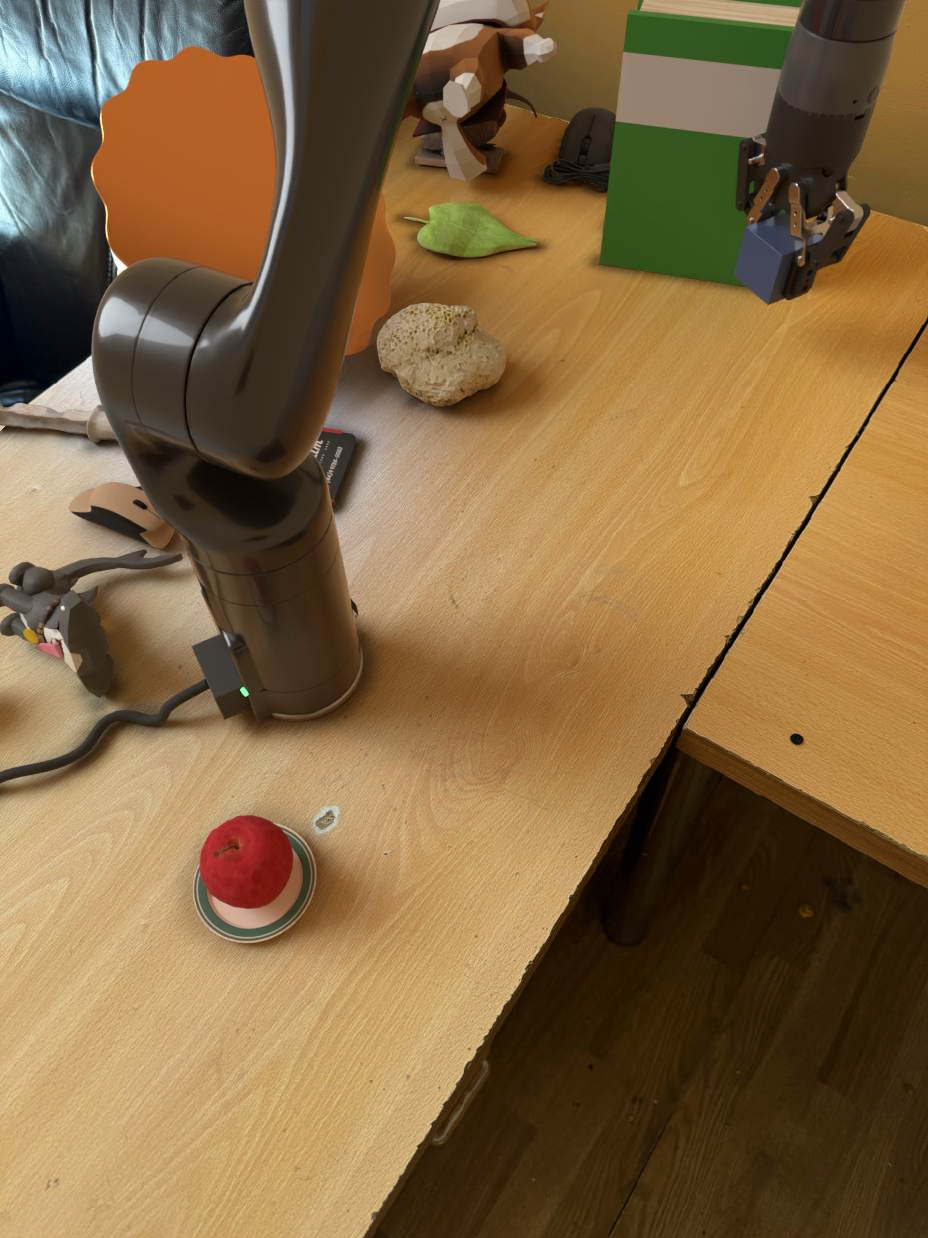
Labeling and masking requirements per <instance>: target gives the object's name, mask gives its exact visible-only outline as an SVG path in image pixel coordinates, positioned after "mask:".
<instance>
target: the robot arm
mask: <svg viewBox="0 0 928 1238" xmlns="http://www.w3.org/2000/svg"><path fill="white" fill-rule="evenodd" d="M440 1H441V0H243V8H244V13H245V17H246V22H247V23H246V24H247V28H248V32H249V33H248V34H249V38H250V42H251V47H252V50H253V54H254V55H253V56H254V58H255V60H256V64H257V68H258V72H259V76H260V80H261V84H262V88H263V92H264V96H265V100H266V104H267V109H268V114H269V119H270V124H271V128H272V133H273V141H274V150H275V168H276V173H275V188H274V197H273V204H272V211H271V217H270V222H269V228H268V233H267V237H266V242H265V246H264V250H263V254H262V258H261V261H260V265H259V268H258V271H257V274H256V277H255V280H250V279H247V278H244V277H241V276H238V275H234V274H231V273H228V272H225V271H221V270H218V269H215V268H213V267H209V266H206V265H203V264H199V263H196V262H193V261H189V260H185V259H182V258H177V257H170V256H157V257H151V258H146V259H143V260H140V261H137V262H135V263H134V264H132V265H130V266H129V267H127V268H126V269H125V270H123V271H122V272H121V273H120V274H119V275H118V276H117V275H116V277H115V278H114V279H113V280H112V282H111V283H110V284H109V285H108V287H107V288H106V290H105V292H104V293H103V296H102V297H101V300H100V302H99V305H98V307H97V310H96V314H95V318H94V322H93V327H92V332H91V345H90V347H91V349H90V350H91V351H90V352H91V367H92V374H93V379H94V384H95V388H96V392H97V396H98V398H99V401H100V405H102V407H103V410H104V412H105V415H106V417H107V419H108V422H109V424H110V426H111V428H112V430H113V432H114V434H115V436H116V439H117V441H116V442H118V445H119V446H120V448H121V450H122V452H123V454H124V456H125V458H126V460H127V462H128V464H129V466H130V468H131V470H132V472H133V474H134V476H135V477H136V480H137V482H138V484H139V486H141V487H142V489H143V491H144V493H145V495H146V497H147V499H148V501H149V502H150V504H151V506H152V507H153V509H154V510H155V511H156V512H157V514H158V515H159V516H160V517H161V518H162V519H163V520H164V521H165V522H166V523H167V524H168V525H169V526H170V527H171V528H173V529H174V530H175V531H174V532H176V533H177V534H178V535H179V538H180V541H181V543H182V545H183V547H184V550H185V552H186V554H187V557H188V559H189V561H190V564H191V566H192V568H193V569H192V570H193V572H194V574H195V576H196V578H197V582H198V583H199V586H200V588H201V589H200V593H201V596H202V598H203V601H204V603H205V605H206V608H207V611H208V613H209V615H210V617H211V619H212V622H213V625H214V627H215V629H216V633H217V634H216V635H215V636H212V637H210V638H207V639H205V640H202V641H199V642H198V643H196V644H195V643H194V644H193V645H191V650H192V652H193V654H194V655H195V658H196V661H197V662H198V665H199V667H200V670H201V672H202V674H203V676H204V678H203V679H201V680H200V681H198V682H196V683H194V684H192V685H190V686H188V687H186V688H185V689H183V690H182V691H180V692H178V693H176V694H175V695H173V696H172V697H170V698H169V699H168V700H167V701H165V702H164V703H163V704H162V705H161V707H160V708H159V711H158V713H156V714H148V713H143V712H140V711H136V710H135V711H134V710H130V709H120V710H115V711H112V712H110V713H107V714H106V715H105V716H103V717H102V718H101V719H99V720H98V721H97V722H96V724H95V725H94V726H93V727H92V729H91V731H90V732H89V734H88V735H87V736H86V738H85V739H84V741H83V742H82V743H81V744H79V746H77V747H76V748H75V749H72V750H71V751H69V752H67V753H65V754H62V755H60V756H57V757H55V758H52V759H48V760H44V761H43V760H42V761H39V762H35V763H28V764H24V765H19V766H15V767H11V768H7V769H4V770H2V771H1V770H0V785H1V784H3V783H5V782H9V781H11V780H15V779H19V778H24V777H28V776H35V775H38V774H43V773H47V772H48V773H49V772H51V771H55V770H58V769H61V768H64V767H66V766H69V765H71V764H73V763H75V762H77V761H78V760H81V759H82V758H83V757H85V756H86V755H88V754H89V752H90V751H92V749H93V748H94V747H95V746H96V744H97V743H98V742H99V740H100V738H101V737H102V736H103V734H104V733H105V731H106V730H107V729H108V728H109V727H111V725H113V724H115V723H117V722H123V721H126V722H131V723H136V724H139V725H142V726H144V725H145V726H158V725H161V724H164V723H165V722H166V721H167V720H168V719H169V718H170V716H171V713H172V712H173V711H174V710H175V709H177V708H178V707H180V706H181V705H183V704H184V703H186V702H188V701H190V700H191V699H193V698H196V697H197V696H199V695H201V694H203V693H204V692H206V691H208V690H210V692H211V694H212V696H213V699H214V701H215V703H216V705H217V707H218V710H219V712H220V713H221V716H222V718H223V720H224V721H226V720H228V719H231V718H232V717H235V716H237V715H239V714H241V713H244V712H246V711H249V710H251V711H252V713H253V715H254V717H255V720H256V721H257V722H258V723H259V724H263V723H266V722H267V721H269V720H273V719H275V720H280V721H285V722H286V721H288V722H303V721H307V720H313V719H317V718H318V717H319V718H320V717H322V716H324V715H327V714H329V713H331V712H332V711H334V710H336V709H338V707H340V706H342V705H343V704H344V703H345V702H347V700H349V698H350V697H351V696H352V694H353V693H354V692H355V690H356V688H357V687H358V685H359V683H360V682H361V678H362V674H363V671H364V653H363V648H362V645H361V642H360V637H359V635H358V629H357V625H356V620H355V615H354V613H355V614H356V615H357V617H358V618H359V617H360V616H359V610H358V606H357V604H356V603H355V601H354V600H353V599H352V598H351V594H350V589H349V585H348V579H347V575H346V569H345V564H344V560H343V559H344V558H343V554H342V549H341V545H340V539H339V534H338V528H337V523H336V519H335V513H334V508H332V503H331V498H330V493H329V488H328V484H327V480H326V476H325V473H324V471H323V469H322V467H321V465H320V463H319V462H318V460H317V459H316V457H315V456H314V455H313V454H312V452H311V450H312V448H313V447H314V445H315V443H316V442H317V440H318V438H319V436H320V434H321V431H322V429H323V428H325V425H326V422H327V420H328V417H329V414H330V411H331V408H332V405H333V403H334V400H335V397H336V393H337V389H338V386H339V382H340V379H341V375H342V370H343V365H344V362H345V359H346V358H345V357H346V356H345V353H346V349H347V345H348V340H349V336H350V331H351V327H352V322H353V317H354V313H355V308H356V303H357V299H358V294H359V290H360V285H361V280H362V276H363V271H364V266H365V262H366V257H367V253H368V248H369V243H370V239H371V234H372V230H373V225H374V220H375V216H376V211H377V207H378V203H379V199H380V196H381V192H382V193H383V188H384V184H385V180H386V177H387V173H388V171H389V170H388V169H389V166H390V163H391V159H392V156H393V151H394V149H395V145H396V141H397V138H398V135H399V132H400V129H401V125H402V122H403V119H404V118H403V115H404V112H405V108H406V105H407V102H408V99H409V95H410V92H411V89H412V85H413V82H414V79H415V76H416V73H417V70H418V66H419V63H420V60H421V57H422V54H423V51H424V48H425V45H426V42H427V40H428V37H429V34H430V31H431V28H432V25H433V22H434V19H435V17H436V14H437V11H438V8H439V4H440ZM907 1H908V0H802V2H801V6H800V10H799V14H798V17H797V21H796V24H795V26H794V29H793V32H792V34H791V37H790V40H789V42H788V45H787V49H786V52H785V56H784V60H783V64H782V68H781V73H780V77H779V81H778V84H777V88H776V93H775V97H774V101H773V105H772V109H771V113H770V117H769V121H768V125H767V129H766V132H765V133H762V134H759V135H756V136H753V137H750V138H747V139H744V140H741V142H740V144H739V156H738V171H737V186H736V201H735V205H736V208H737V210H738V211H744V212H745V214H746V215H747V218H746V222H747V225H748V226H749V225H752V224H755V223H757V222H760V221H763V220H766V219H768V218H771V217H774V216H777V215H779V213H780V212H781V210H782V209H783V210H785V211H786V213H787V214H788V215H789V217H790V235H791V237H793V238H794V240H795V242H794V261H792V262H791V266H790V269H789V272H788V276H787V279H786V282H785V286H784V289H783V292H782V297H784V298H785V299H784V300H786V301H792V300H795V299H797V298H800V297H802V296H803V295H805V294H807V293H809V291H810V290H811V289H810V287H811V284H812V281H813V278H814V275H815V272H816V271H817V272H818V271H821V270H823V269H824V268H827V267H829V266H830V267H831V266H832V265H836V264H839V263H841V262H842V260H843V259H844V257H845V256H846V254H847V252H849V249H850V248H851V247H852V245H853V243H854V242H855V240H856V239H857V236H858V235H859V234H860V233H861V230H862V228H863V227H864V225H865V224H866V222H867V220H868V219H869V217H870V216H871V211H872V210H871V206H870V204H869V203H868V202H862V203H859V204H857V203H856V202H855V200H854V199H853V198H852V197H851V196H850V195H849V193H848V188H849V180H848V179H849V178H848V177H849V176H848V175H849V170H850V168H851V166H852V164H853V163H854V162H855V159H856V158H857V157H858V155H859V154H860V151H861V150H862V147H863V144H864V141H865V139H866V136H867V133H868V129H869V127H870V123H871V120H872V117H873V115H874V111H875V108H876V106H877V102H878V100H879V96H880V93H881V91H882V87H883V85H884V81H885V79H886V75H887V72H888V69H889V66H890V63H891V59H892V56H893V55H892V54H893V50H894V43H895V40H896V34H897V31H898V27H899V25H900V22H901V19H902V16H903V14H904V11H905V7H906V4H907ZM402 118H403V119H402ZM753 181H754V188H753V192H752V193H749V189H750V184H751V182H753ZM813 218H815V219H813ZM810 219H813V220H812V221H808V220H810ZM806 221H808V222H807V223H806V224H805V222H806ZM811 236H813V237H812V247H809V239H810V237H811Z"/></svg>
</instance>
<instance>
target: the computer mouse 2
mask: <svg viewBox="0 0 928 1238" xmlns="http://www.w3.org/2000/svg"><path fill="white" fill-rule="evenodd" d="M615 121H616V113H614V112H613V111H611V110H609V109H606V108H603V107H593V106H592V107H586V108H582V109H580V110H579V111H577V112H576V113H575V114H574V115H573V117H572V118H571V119H570V121H569V122H568V125H567V126H566V128H565V130H564V132H563V134H562V137H561V141H560V143H559V149H558V155H557V159H554V160H553V161H551V163H549V164H548V165H547V166H545V168H544V171H543V172H542V175H541V178H542V180H543V181H544V182H545V183H547V184H552V185H556V184H565V183H573V182H579V184H581V185H582V184H586V185H587V186H588V187H590V189H593V190H594V191H596V192H600V193H606V192H608V183H609V174H610V165H611V156H612V147H613V139H614V130H615ZM553 174H555V175H556V176H554V175H553ZM592 185H594V186H592ZM595 186H597V187H599V188H600V189H599V188H596V187H595Z"/></svg>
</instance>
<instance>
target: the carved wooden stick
mask: <svg viewBox="0 0 928 1238" xmlns="http://www.w3.org/2000/svg"><path fill="white" fill-rule="evenodd" d="M1 401H2V400H0V426H2V427H12V428H23V429H27V430H37V429H45V430H47V429H49V430H57V431H62V432H65V433H66V434H67V433H68V434H76V435H86V436H87V438H88V440H89V441H90V442H91V443H92V444H94V445H95V444H98V443H99V442H101V441H112V442H118V441H117V439H116V436H115V434H114V432H113V430H112V428H111V426H110V424H109V422H108V419H107V417H106V415H105V412H104V410H103V407H102V405H101V404H98V405H96V407H95V408H94V409H93V410H83V409H82V410H81V409H68V410H65V411H61V412H58V411H56V410H55V409H54V408H51V407H48V406H45V405H39V404H29V403H24V402H17V403H14V404H13V405H11V406H8V407H7V406H6V407H5V406H4V405H3V404H2V402H1Z"/></svg>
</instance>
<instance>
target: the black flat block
mask: <svg viewBox="0 0 928 1238" xmlns="http://www.w3.org/2000/svg"><path fill="white" fill-rule="evenodd" d="M357 448H358V442H357V438H356V435H355V434H353V433H351V432H345V431H344V430H342V429H336V428H329V427H328V428H327V427H323V429H322V431H321V434H320V436H319V438H318V440H317V442H316V443H315V445H314V447H313V448H312V450H311V452H312V454H313V455H314V456H315V457H316V459H317V460H318V462H319V463H320V465H321V467H322V469H323V471H324V473H325V476H326V480H327V484H328V488H329V493H330V498H331V503H332V508H333V509H334V508H335V507H336V504H337V502H338V498H339V496H340V493H341V491H342V488H343V486H344V482H345V480H346V477H347V475H348V472H349V469H350V467H351V464H352V461H353V458H354V456H355V453H356V451H357Z"/></svg>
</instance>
